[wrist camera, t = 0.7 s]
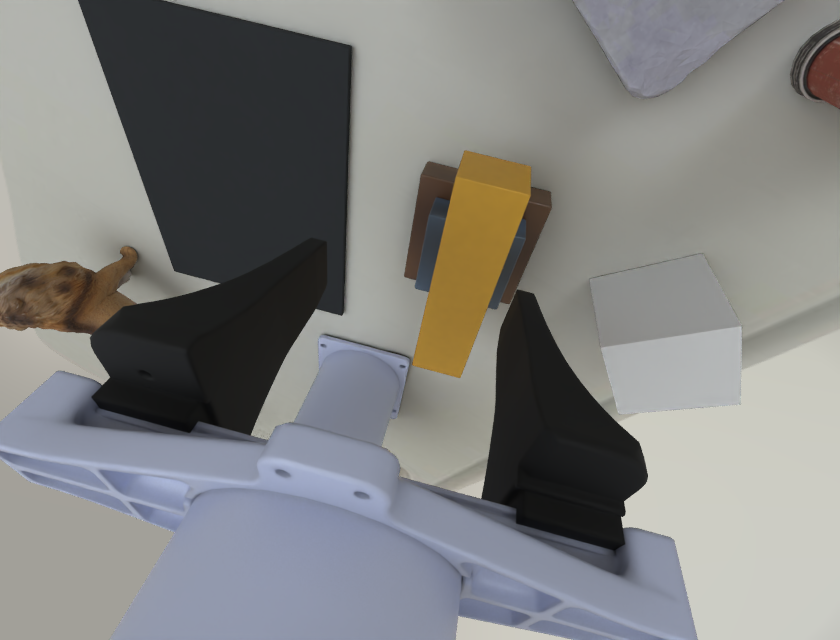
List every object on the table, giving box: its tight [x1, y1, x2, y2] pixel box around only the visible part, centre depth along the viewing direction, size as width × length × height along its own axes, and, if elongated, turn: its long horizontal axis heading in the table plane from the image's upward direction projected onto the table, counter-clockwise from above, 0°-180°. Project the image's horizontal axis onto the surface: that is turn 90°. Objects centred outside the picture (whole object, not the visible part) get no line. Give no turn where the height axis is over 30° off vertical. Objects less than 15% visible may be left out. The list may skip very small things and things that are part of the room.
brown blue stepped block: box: [404, 162, 552, 309], centre depth 23 cm, size 7×7×4 cm
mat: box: [78, 0, 352, 316], centre depth 25 cm, size 18×14×1 cm
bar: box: [412, 151, 531, 378], centre depth 21 cm, size 12×3×3 cm, turn 171°
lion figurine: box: [0, 246, 138, 335], centre depth 31 cm, size 15×5×9 cm, turn 41°
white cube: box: [590, 253, 742, 415], centre depth 23 cm, size 6×6×6 cm
